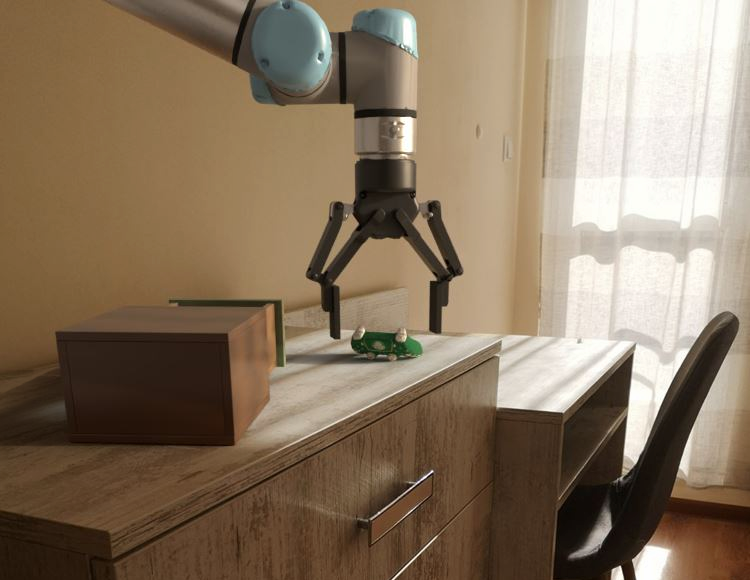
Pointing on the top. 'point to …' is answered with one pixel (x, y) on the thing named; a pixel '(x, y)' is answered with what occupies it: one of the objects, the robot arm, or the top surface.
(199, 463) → the top surface
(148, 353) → the cabinet
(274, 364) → the drawer
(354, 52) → the robot arm
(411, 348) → the green rounded piece
